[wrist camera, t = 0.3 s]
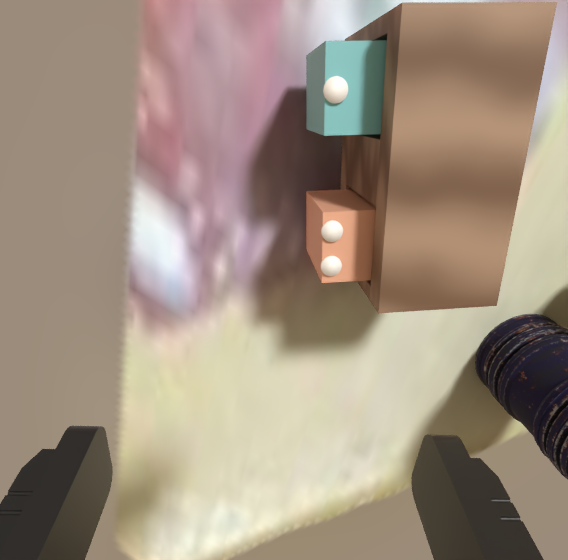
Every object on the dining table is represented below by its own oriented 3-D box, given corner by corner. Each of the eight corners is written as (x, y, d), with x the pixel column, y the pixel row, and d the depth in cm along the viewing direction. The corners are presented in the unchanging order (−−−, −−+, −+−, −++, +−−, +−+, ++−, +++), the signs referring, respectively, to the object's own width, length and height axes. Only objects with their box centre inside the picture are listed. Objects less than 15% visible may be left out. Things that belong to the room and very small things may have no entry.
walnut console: (345, 39, 31) (402, 2, 20) (447, 38, 32) (557, 2, 21) (338, 252, 38) (378, 313, 27) (423, 248, 38) (496, 305, 27)
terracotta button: (305, 191, 33) (322, 212, 26) (380, 188, 33) (415, 208, 27) (305, 249, 35) (320, 284, 28) (376, 246, 35) (408, 279, 29)
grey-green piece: (305, 55, 29) (324, 40, 22) (389, 54, 30) (433, 39, 23) (305, 129, 31) (323, 136, 24) (384, 127, 32) (423, 133, 25)
